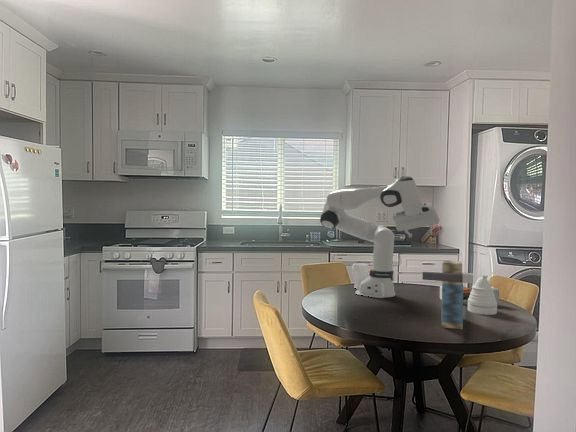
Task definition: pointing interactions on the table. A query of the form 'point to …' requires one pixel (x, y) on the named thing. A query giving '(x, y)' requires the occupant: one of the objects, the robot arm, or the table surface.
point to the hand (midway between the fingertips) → (420, 235)
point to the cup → (360, 273)
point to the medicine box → (496, 295)
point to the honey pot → (482, 298)
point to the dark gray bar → (448, 277)
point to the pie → (466, 292)
